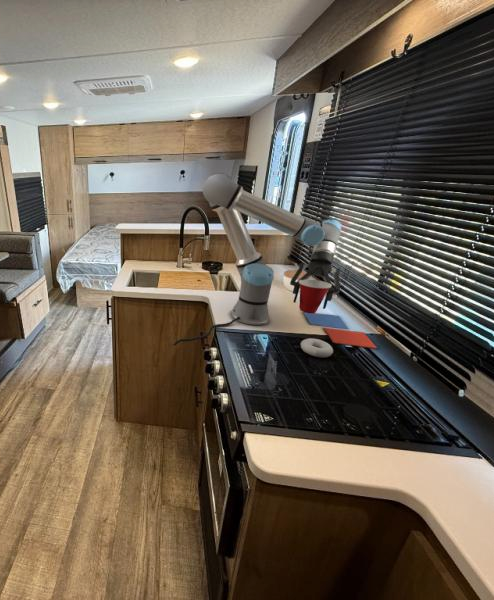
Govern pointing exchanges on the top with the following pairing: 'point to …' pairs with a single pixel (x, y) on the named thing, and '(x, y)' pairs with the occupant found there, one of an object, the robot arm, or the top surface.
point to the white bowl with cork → (288, 277)
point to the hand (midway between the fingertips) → (309, 304)
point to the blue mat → (325, 320)
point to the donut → (316, 348)
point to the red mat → (349, 338)
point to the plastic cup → (312, 294)
